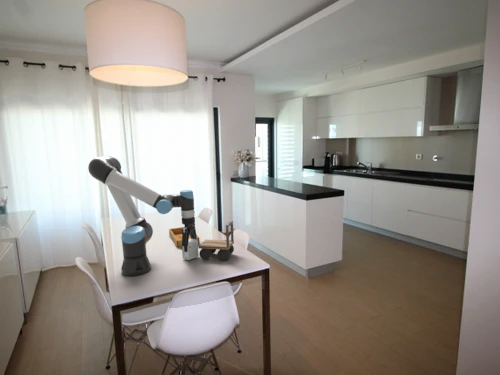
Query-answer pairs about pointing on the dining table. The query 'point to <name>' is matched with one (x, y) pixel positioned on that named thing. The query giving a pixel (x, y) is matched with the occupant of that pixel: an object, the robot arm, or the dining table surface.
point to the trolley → (218, 246)
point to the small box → (191, 249)
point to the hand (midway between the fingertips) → (190, 253)
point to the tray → (178, 236)
